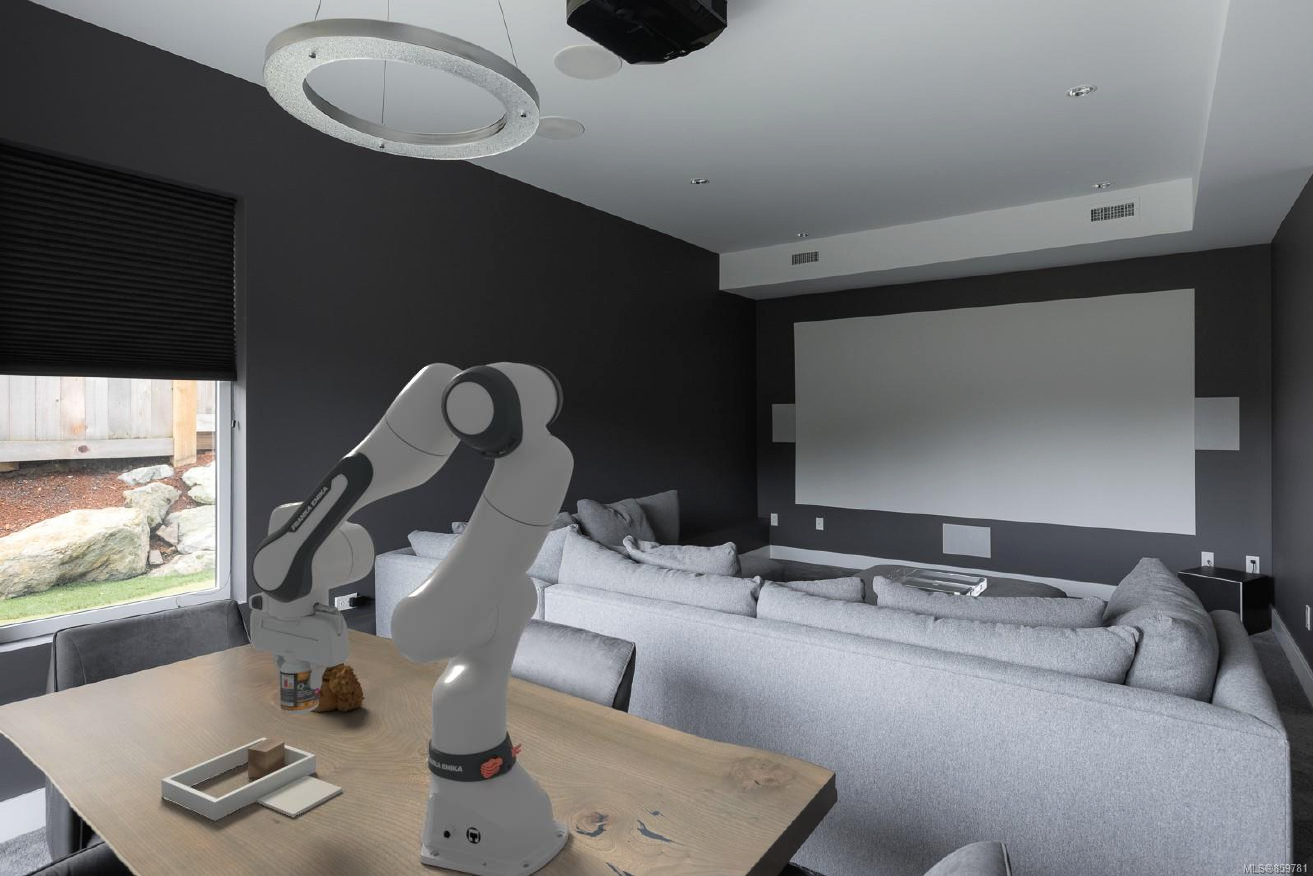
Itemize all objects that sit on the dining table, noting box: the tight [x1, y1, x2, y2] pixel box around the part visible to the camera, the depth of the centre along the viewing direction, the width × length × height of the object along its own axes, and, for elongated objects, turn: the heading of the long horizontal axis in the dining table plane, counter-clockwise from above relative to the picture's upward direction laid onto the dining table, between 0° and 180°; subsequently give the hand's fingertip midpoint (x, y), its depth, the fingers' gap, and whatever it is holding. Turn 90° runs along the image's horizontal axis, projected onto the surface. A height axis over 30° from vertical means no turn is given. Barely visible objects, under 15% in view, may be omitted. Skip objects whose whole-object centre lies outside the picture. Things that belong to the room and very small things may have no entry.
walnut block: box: [247, 738, 286, 779], centre depth 126 cm, size 4×4×5 cm
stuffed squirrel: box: [311, 662, 366, 713], centre depth 154 cm, size 10×14×13 cm
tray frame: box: [161, 737, 317, 821], centre depth 122 cm, size 15×18×3 cm
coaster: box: [256, 775, 343, 818], centre depth 118 cm, size 9×9×1 cm
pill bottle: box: [279, 651, 320, 715], centre depth 117 cm, size 6×6×10 cm
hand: (299, 683), depth 117 cm, fingers closed on pill bottle, 6 cm apart
